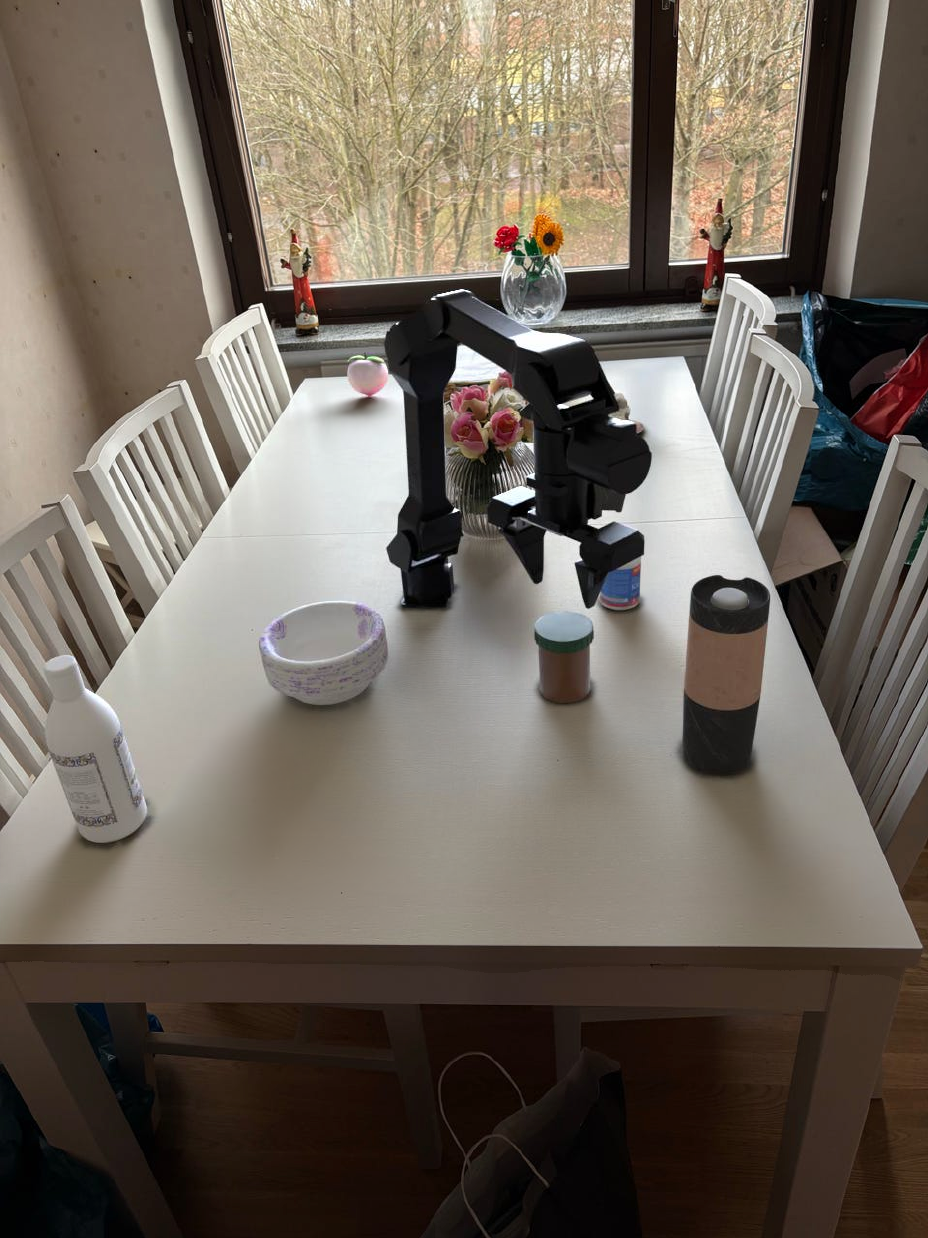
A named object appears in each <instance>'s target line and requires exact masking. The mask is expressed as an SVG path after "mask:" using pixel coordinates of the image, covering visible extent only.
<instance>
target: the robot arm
mask: <svg viewBox="0 0 928 1238" xmlns="http://www.w3.org/2000/svg"><path fill="white" fill-rule="evenodd" d="M461 345H463V346H465V347H467V348H468V349H470V350H471V351H473V352H475V353H477V354H478V355H479V356H481V357H482V358H485V359H486V360H488V361H489V362H490V363H493V364H494V365H496V366H497V367H498V368H501V369H502V370H504V371H505V372H506V373H507V374H509V376H510V379H511V385H512V388H513V390H514V391H516V393H518V394H519V395H520V396H521V397H522V398H523V399H524V400H525V401H526V402H528V403H527V404H526V405H525V406H524V407H522V408H521V409H520V410H519V411H518V412H519V413H518V414H519V416H520V418H522V419H525V420H528V421H530V422H532V445H533V447H532V448H533V449H532V450H533V473H531V474H529V475H527V476H525V486H526V487H524V486H521V485H519V486H517V487H515V488H512V489H510V490H508V491H506V492H503V493H501V494H498V495H496V496H493V497H492V498H491V499H490V501H489V503H488V505H487V506H486V515H487V523H488V524H490V525H493V526H495V527H497V528H498V533H499V534H500V535H502V536H503V537H504V538H505V540H506V542H507V543H508V544H509V546H510V547H511V550H512V551H513V552H514V554H515V555H516V557H517V558H518V560H519V561H520V563H521V565H522V566H523V569H525V571H526V573H527V574H528V576H529V578H530V580H531V581H532V583H533V584H534V585H539V584H541V583H542V582H543V578H544V571H545V569H544V568H545V535H546V533H547V532H550V533H552V534H554V535H557V536H559V537H566V538H568V539H571V540H573V541H576V542H578V543H580V544H579V546H578V550H579V553H578V555H579V557H580V559H579V560H577V561H575V562H574V567H575V572H576V576H577V581H578V585H579V589H580V594H581V598H582V601H583V603H584V607H585V608H586V609H588V610H589V609H592V608H593V607H595V605H596V603H597V601H598V598H599V597H600V592H601V589H602V587H603V584H604V582H605V580H606V577H607V575H608V573H609V572H612V571H614V570H616V569H618V568H620V567H622V566H624V565H625V564H627V563H629V562H631V561H633V560H635V559H637V558H639V557H641V558H642V557H643V556H644V555H645V542H646V541H645V535H644V534H643V533H642V532H641V531H640V530H638V529H635V528H633V527H630V526H628V525H625V524H623V523H619V522H617V521H611V522H609V523H607V524H606V525H603V526H601V527H599V528H598V527H595V526H592V525H590V524H589V521H590V520H594V521H595V520H598V519H600V518H602V517H603V511H610V512H611V511H612V512H615V513H622V511H623V509H624V503H625V500H626V496H627V495H629V494H632V493H633V492H635V491H636V490H638V489H639V487H640V486H641V485H642V484H643V483H644V481H645V480H646V479H647V477H648V474H649V472H650V470H651V466H652V460H653V454H652V451H651V450H650V445H649V443H648V442H647V440H646V439H645V438H643V437H641V436H639V435H638V433H637V425H636V424H635V423H633V422H634V421H633V422H630V421H631V420H629V421H622V420H618V419H615V418H612V417H609V416H608V415H610V414H613V413H616V412H618V411H619V409H620V407H619V405H618V403H617V400H616V398H615V396H614V394H615V392H614V390H615V389H613V387H612V385H611V384H610V382H609V381H608V378H607V376H606V374H605V371H604V370H603V367H602V364H601V363H600V360H599V358H598V357H597V355H596V350H595V349H594V348H593V346H592V345H591V343H588V341H586V340H584V339H582V338H577V337H574V336H572V335H571V336H570V335H567V334H563V333H548V332H540V331H536V330H534V329H531V328H529V327H528V326H526V325H524V324H523V323H521V322H519V321H517V320H515V319H513V318H511V317H510V316H508V315H507V314H505V313H503V312H501V311H499V310H497V309H496V308H494V307H492V306H490V305H489V304H486V303H485V302H483V301H481V300H479V299H478V298H477V297H476V295H475V294H474V293H473V292H472V291H469V290H465V289H459V290H455V291H450V292H446V293H441V294H436V295H434V296H432V297H431V298H430V299H429V300H427V301H426V302H425V304H424V305H423V306H422V307H421V308H419V309H418V310H416V311H415V312H413V313H412V314H410V315H408V316H407V317H405V318H404V319H402V320H401V321H399V322H397V323H394V324H391V326H390V328H389V329H388V330H387V331H386V333H385V339H384V345H383V346H384V352H385V356H386V359H387V366H388V372H389V373H390V374H391V376H392V377H393V378H394V380H395V381H396V383H397V384H398V385H399V387H400V389H401V390H402V392H403V393H402V394H403V410H404V413H403V414H404V430H405V432H404V433H405V449H406V466H407V468H406V469H407V487H408V488H407V489H408V490H407V491H408V495H407V497H406V499H405V500H404V502H403V504H402V506H401V508H400V510H399V512H398V513H397V527H396V534H395V536H394V537H393V538H392V540H391V541H389V543H388V545H387V546H386V548H385V550H386V553H387V556H388V557H387V558H388V560H389V562H390V563H391V564H392V565H394V566H395V567H397V568H398V569H400V577H401V586H402V594H403V596H402V598H401V601H400V606H401V607H402V608H429V609H444V608H447V606H448V603H449V601H450V599H451V598H452V597H453V593H454V591H455V578H454V568H453V564H452V563H449V557H451V556H455V555H458V553H459V547H460V543H461V540H462V538H463V537H464V531H463V525H462V524H463V514H462V512H461V510H459V509H458V508H456V506H455V504H453V502H451V500H450V499H449V498H448V495H447V472H446V471H447V469H446V432H445V431H446V430H445V390H446V388H447V387H448V384H449V383H450V381H451V379H452V377H453V375H454V374H455V372H456V369H457V360H458V349H459V347H460V346H461ZM588 396H590V397H591V398H592V399H589V400H585V401H583V402H580V403H577V404H576V403H575V404H573V405H570V406H568V405H564V404H567V403H570V402H573V401H577V400H579V399H583V398H586V397H588ZM527 487H528V488H527ZM529 488H531V489H529ZM532 489H534V490H532Z"/></svg>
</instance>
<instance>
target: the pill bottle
mask: <svg viewBox="0 0 928 1238" xmlns="http://www.w3.org/2000/svg"><path fill="white" fill-rule="evenodd" d="M641 568H642V556H641V557H639V558H637V559H635V560H633V561H631V562H629V563H627V564H625V565H624V566H622V567H620V568H618V569H616V570H614V571H612V572H609V573H608V575H607V577H606V580H605V582H604V584H603V587H602V589H601V592H600V594H599V602H600V603H601V605H602V606H604V607H605V608H608V609H610V610H614V611H625V610H630V609H633V608H635V607H636V606H637V605H638V604H639V603H640V597H641V573H642V571H641V570H642V569H641Z"/></svg>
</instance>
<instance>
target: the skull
mask: <svg viewBox="0 0 928 1238" xmlns="http://www.w3.org/2000/svg"><path fill="white" fill-rule="evenodd" d="M613 390H614V392H615V394H614V396H615V398H616V400H617V403H618V405H619V407H620V409H619V411H618V412H616V413H613V414H610V415H608V416H609V417H612V418H615V419H618V420H622V421H630V422H633V423H635V424H636V425H637V434H640V433H642V432H643V431H644V429H645V426H644V425H643V424H642V423H641V422H637V421H634V420H630V417H629V416H630V415H631V408H630V406H629V405H628V401H627V399H626V398H625V395H624V393H622V392H621V391H619V390H615V389H613Z"/></svg>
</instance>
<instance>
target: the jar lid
mask: <svg viewBox="0 0 928 1238" xmlns="http://www.w3.org/2000/svg"><path fill="white" fill-rule="evenodd" d="M533 628H534V629H533V630H534V633H533V634H534V635H533V637H534V641H535V643H536V645H537V646H538V645H539V646H540V647H541V648H542V649H544V650H546V651H549V652H553V653H560V654H567V653H574V652H578V651H581V650H583V649H585V648H587V647H588V646H589V645H590V646H591V644H593V641H594V639H595V635H594V634H595V630H594V623H593V621H592V620H591V619H590V617H588V616H586V615H585V614H582V613H580V612H576V611H572V610H571V611H570V610H559V611H552V612H549V613H547V614H544V615H542V616H540V617H539V618H538V619H537V620H536V622H535V623H534V627H533Z"/></svg>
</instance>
